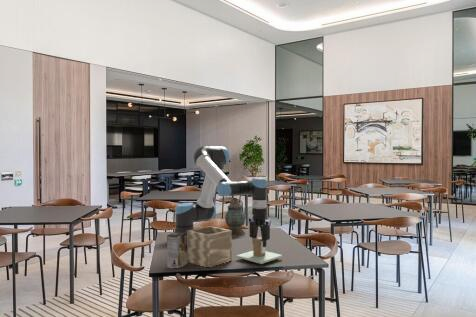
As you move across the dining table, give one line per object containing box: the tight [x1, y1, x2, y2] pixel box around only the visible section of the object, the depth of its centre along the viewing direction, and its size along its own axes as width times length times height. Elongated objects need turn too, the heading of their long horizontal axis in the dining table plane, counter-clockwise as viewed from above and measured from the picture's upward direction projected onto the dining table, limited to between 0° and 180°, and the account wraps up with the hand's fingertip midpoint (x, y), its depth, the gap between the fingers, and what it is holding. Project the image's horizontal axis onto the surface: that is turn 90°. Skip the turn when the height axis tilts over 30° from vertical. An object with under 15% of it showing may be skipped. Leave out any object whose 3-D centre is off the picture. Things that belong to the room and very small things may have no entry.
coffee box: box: [166, 232, 188, 269], centre depth 181 cm, size 9×6×16 cm
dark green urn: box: [224, 197, 246, 237], centre depth 255 cm, size 14×14×25 cm
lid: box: [236, 236, 283, 265], centre depth 191 cm, size 17×17×10 cm
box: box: [187, 225, 233, 268], centre depth 188 cm, size 16×16×16 cm
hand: (259, 251), depth 191 cm, fingers closed on lid, 4 cm apart
